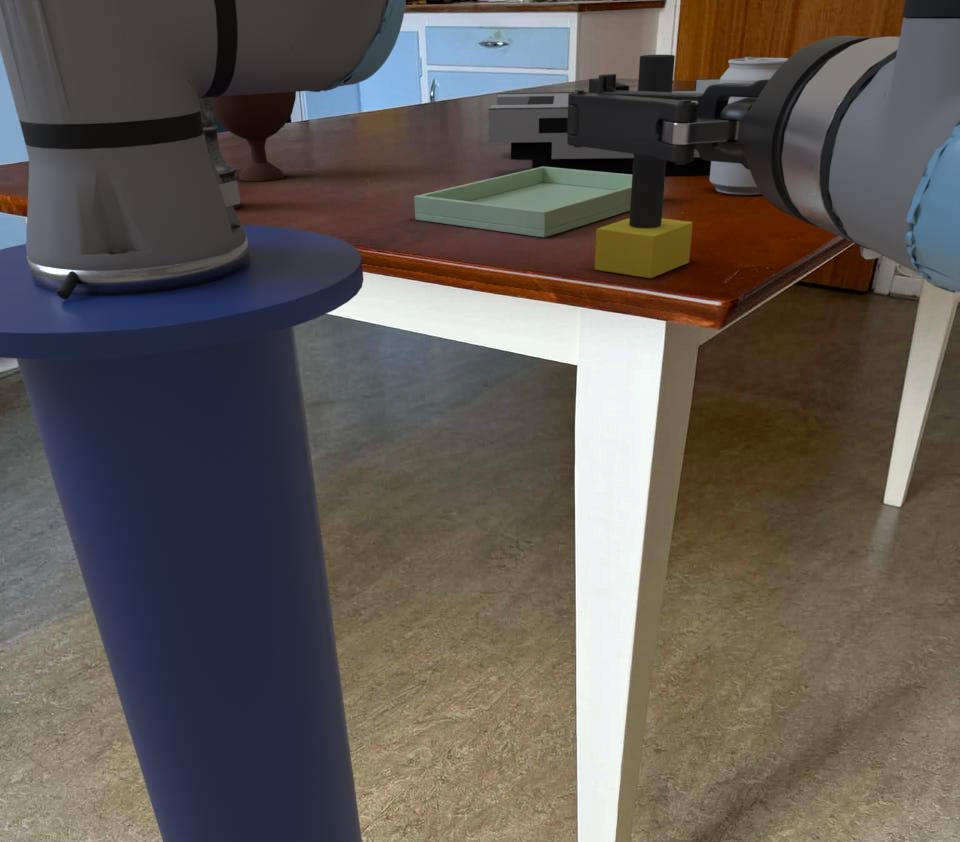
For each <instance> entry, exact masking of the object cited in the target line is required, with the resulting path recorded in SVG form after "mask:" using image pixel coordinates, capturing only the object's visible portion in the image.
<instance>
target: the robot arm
mask: <svg viewBox="0 0 960 842" xmlns="http://www.w3.org/2000/svg"><path fill="white" fill-rule="evenodd" d="M406 2H407V0H0V54H1V58H2V63H3V66H4V69H5V74H6V76H7V81H8V84H9V85H8V86H9V88H10V92H11V96H12V99H13V103H14V107H15V110H16V115H17V118H18V121H19V124H20V128H21V132H22V136H23V141H24V144H25V148H26V152H27V157H28V188H27V189H28V190H27V212H26V240H25V244H26V251H27V261H28V264H29V268H30V272H31V275H32V279H33V282H34V283H35V284H36V285H37V286H39V287H41V288H43V289H46V290H49V291H53V292H58V295H59V296H60V297H61V298H62V299H68V298H69V296H70V295H71V294H73V295H88V296H115V295H134V294H146V293H156V292H164V291H171V290H177V289H183V288H189V287H194V286H198V285H203V284H207V283H211V282H214V281H218V280H221V279H224V278H227V277H229V276H232V275H234V274H236V273H238V272H240V271H242V270H243V269H245V268H246V267H247V266H248V265H249V263H250V254H249V247H248V241H247V236H246V235H245V231H244V228H243V226H242V225H243V224H242V222H241V221H240V220H239V217H238V215H237V212H236V209H234V207H233V205H237V204H241V197H240V189H239V184H238V180H236V179H235V181H232V182H228V183H224V184H223V183H222V180H221V178H220V176H219V174H218V172H217V170H216V168H215V166H214V163H213V161H212V159H211V157H210V155H209V152H208V149H207V146H206V142H205V136H204V130H203V124H202V119H201V113H200V104H199V98H207V97H218V96H234V95H250V94H266V93H282V92H296V93H298V92H311V93H313V92H314V93H320V92H327V91H331V90H334V89H337V88H338V87H344V86H345V87H346V86H351V85H356V84H359V83H362V82H364V81H366V80H368V79H370V78H371V77H372V76H374V75H375V74H376V73H377V72H378V71H379V70H380V69H381V68H382V67H383V65H384V64H385V63H386V61H387V60H388V59H389V57H390V55H391V53H392V52H393V49H394V48H395V46H396V43H397V40H398V37H399V36H400V32H401V28H402V25H403V21H404V16H405V10H406V5H407V4H406ZM901 16H902V17H903V18H902V23H901V29H900V35H899V36H890V35H889V36H880V37H874V36H859V35H857V36H856V35H835V36H828V37H825V38H822V39H819V40H816V41H814V42H811V43H809V44H807V45H805V46H804V47H802V48H801V49H799V50H798V51H796V52H795V53H794V54H792V55H791V56H789V58H788V59H787V60H786V61H785V62H784V63H783V64H782V65H781V66H780V67H779V69H778V70H777V71H776V72H775V73H774V74H773V76H772V77H771V78H770V79H764V80H758V81H756V82H755V83H753V84H747V83H721V84H714V85H710V86H708V87H707V88H706V90H705V91H704V93H677V92H650V91H638V90H630V85H627V84H624V83H620V82H617V74H616V73H612V74H611V73H608V74H607V73H606V74H599V75H598V78H589V79H588V92H589V93H586V92H587V91H585V90H584V89H576V90H574V91H569V92H570V93H569V94H568V130H567V144H568V145H572V146H573V147H589V148H596V149H603V150H610V151H617V152H624V153H631V154H638V155H645V156H652V157H657V158H660V159H664V160H667V161H670V162H675V164H676V165H685V164H686V163H690V162H691V161H693V159H694V149H696V150H697V151H698V153H699V155H700V157H701V158H702V159H703V160H705V161H716V162H728V163H740V164H742V165H743V166H744V167H745V168H746V169H749V170H750V172H751V174H752V177H753V179H754V181H755V183H756V185H757V187H758V189H759V191H760V192H761V194H760V195H762V196H763V198H764V199H765V200H766V201H767V202H768V203H769V204H770V205H771V206H773V207H774V208H775V209H777V210H778V211H780V212H782V213H783V214H786V215H789V216H790V217H793V218H795V219H797V220H799V221H802V222H804V223H806V224H807V225H810V226H814V227H816V228H820V229H822V230H824V231H827V232H828V233H831V234H834V235H835V236H838V237H840V238H842V239H845V240H847V241H849V242H852V243H853V244H856V245H857V246H859V252H860V256H861V257H862V258H863V259H864V260H875V259H878V258H880V257H882V256H883V257H885V258H887V259H889V260H890V261H893V262H895V263H897V264H899V265H900V266H903V267H905V268H906V269H909V270H911V271H913V272H915V273H917V274H918V276H920V277H922V278H923V279H924V280H925V281H926V282H927V283H929V284H930V285H932V286H934V287H936V288H939V289H941V290H944V291H947V292H950V293H953V294H954V293H960V0H904V5H903V10H902V15H901ZM730 97H748V98H744V99H741V100H738V101H735V102H732V103H730V104H728V101H729V98H730Z"/></svg>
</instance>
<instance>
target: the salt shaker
mask: <svg viewBox="0 0 960 842" xmlns="http://www.w3.org/2000/svg"><path fill="white" fill-rule="evenodd" d="M199 104H200V113H201V119H202V124H203V130H204V136H205V142H206V146H207V149H208V152H209V155H210V157H211V159H212V161H213V163H214V166H215V168H216V170H217V172H218V174H219V176H220V178H221V180H222V183H223V184H224V183H228V182H232V181H236V174H235V173H236V172H237V171H238V168H237V167H236V166H234V165H230V164H229V163H227V162H226V161H225V160H224V157H223V154H222V152H221V149H220V143H219V138H218V129H220V125H218V124H216V123H215V118H214V116H213V110H212V103H211V97H207V98H199ZM240 204H241V203H240ZM240 204H237V205H233V207H234V209H235V210H237V209H239V208H240V207H241V205H240Z"/></svg>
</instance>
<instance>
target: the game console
mask: <svg viewBox="0 0 960 842" xmlns="http://www.w3.org/2000/svg"><path fill="white" fill-rule="evenodd" d="M714 84H720V78H695V81H694V89H675V90H674V89H672V92H677V93H704V91H705V90H706V88H707V87H708V86H710V85H714ZM570 92H571V91H557V92H556V91H555V92H553V91H552V92H551V91H549V92H500V93H498V94H497V96H496V104H491V105H490V107H489V108H488V109H487V110H488V111H487V112H488V114H487V115H488V116H487V117H488V143H489V144H503V143H504V144H505V143H507V144H509V143H510V160H512V161H515V160H516V161H517V160H520V161H521V160H525V161H526V160H531V161H532V163H531V169H534V168H538V167H554V168H565V169H576V170H587V171H598V172H609V173H620V174H631V175H632V174H633V158H634V154H631V153H624V152H617V151H610V150H603V149H596V148H589V147H573V146H572V145H568V144H567V130H568V94H569V93H570ZM585 92H586V93H589V91H585ZM710 169H711V161H705V160H703V159H702V158H701V157H700V155H699V153H698V151H697V150H696V149H694V159H693V161H691V162H690V163H686V164H685V165H676V164H675V162H670V161H667V160H666V171H665V176H692V175H693V176H699V175H701V176H702V175H709V176H710Z"/></svg>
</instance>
